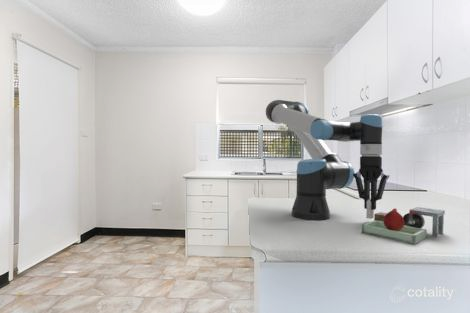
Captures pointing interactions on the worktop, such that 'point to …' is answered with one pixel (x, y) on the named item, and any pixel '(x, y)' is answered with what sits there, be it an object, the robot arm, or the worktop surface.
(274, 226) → the worktop surface
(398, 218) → the onion
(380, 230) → the tray
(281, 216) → the worktop surface
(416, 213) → the caster wheel
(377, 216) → the block
